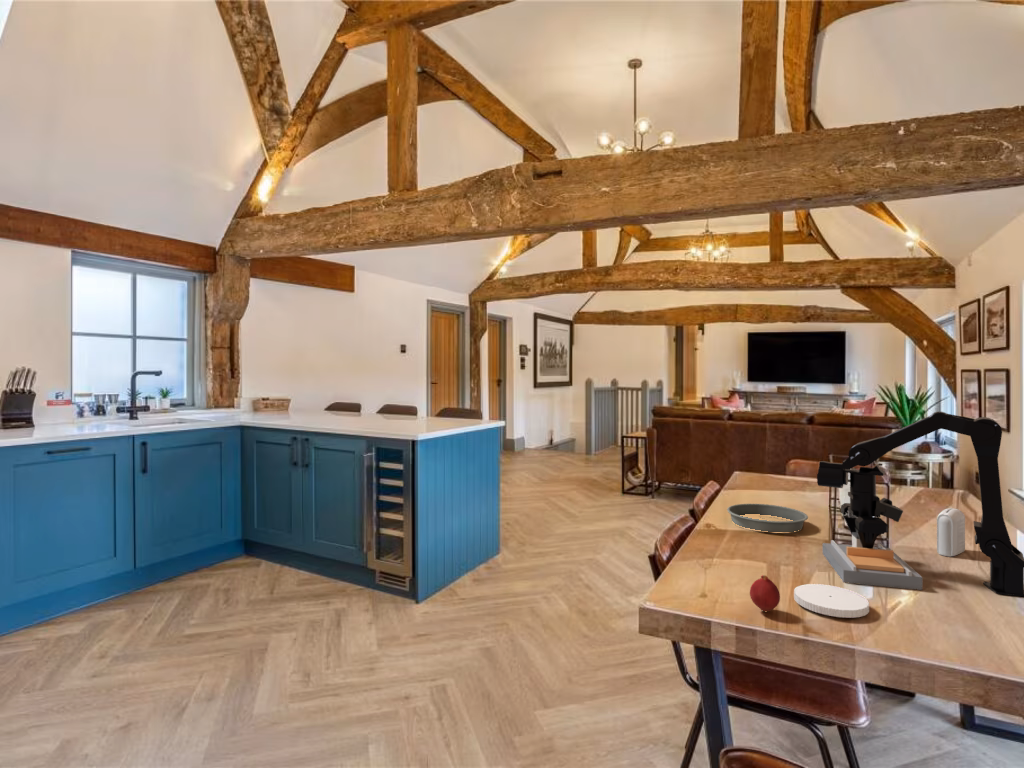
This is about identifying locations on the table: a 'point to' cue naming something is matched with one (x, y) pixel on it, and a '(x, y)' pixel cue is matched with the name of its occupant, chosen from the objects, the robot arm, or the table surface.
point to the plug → (856, 540)
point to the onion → (765, 594)
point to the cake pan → (766, 525)
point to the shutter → (873, 559)
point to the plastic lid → (831, 600)
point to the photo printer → (950, 532)
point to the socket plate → (851, 574)
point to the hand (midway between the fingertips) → (862, 549)
